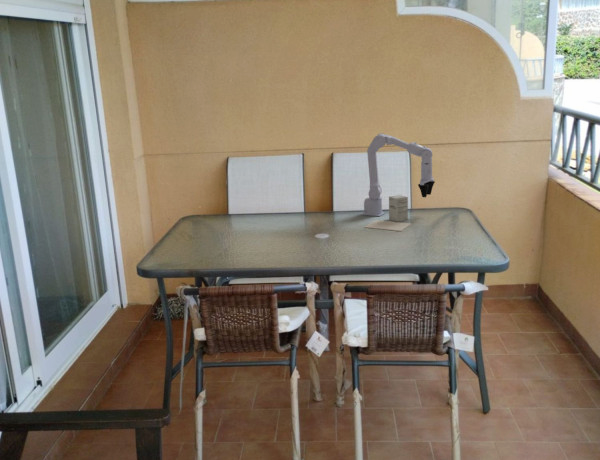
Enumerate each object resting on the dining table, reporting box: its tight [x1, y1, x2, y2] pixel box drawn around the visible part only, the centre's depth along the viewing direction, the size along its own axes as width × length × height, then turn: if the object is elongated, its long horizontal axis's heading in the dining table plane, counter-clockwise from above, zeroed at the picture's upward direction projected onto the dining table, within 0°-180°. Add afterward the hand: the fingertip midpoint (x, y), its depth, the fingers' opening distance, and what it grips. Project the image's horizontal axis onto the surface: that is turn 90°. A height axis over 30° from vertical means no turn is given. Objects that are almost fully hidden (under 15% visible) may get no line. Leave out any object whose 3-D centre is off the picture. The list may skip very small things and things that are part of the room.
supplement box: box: [388, 194, 409, 222], centre depth 317 cm, size 7×7×13 cm
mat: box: [364, 219, 412, 232], centre depth 308 cm, size 20×14×1 cm
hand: (426, 195), depth 323 cm, fingers open, 6 cm apart
